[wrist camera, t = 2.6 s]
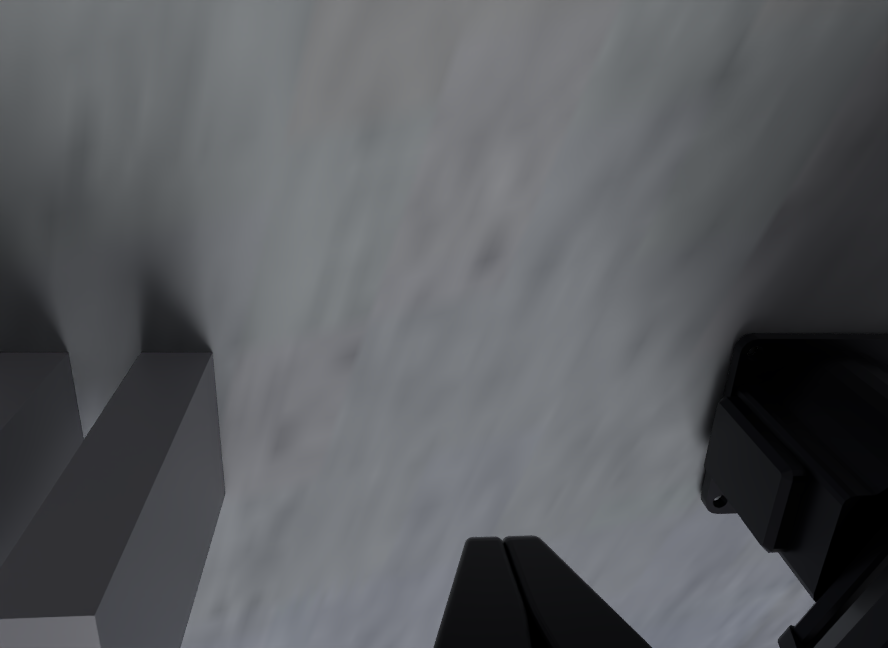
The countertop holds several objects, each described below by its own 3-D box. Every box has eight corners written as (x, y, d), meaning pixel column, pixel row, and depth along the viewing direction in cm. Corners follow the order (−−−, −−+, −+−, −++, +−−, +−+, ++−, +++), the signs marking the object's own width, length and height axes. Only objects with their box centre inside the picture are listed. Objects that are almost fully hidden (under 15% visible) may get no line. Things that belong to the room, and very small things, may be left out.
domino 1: (212, 352, 21) (94, 615, 12) (225, 494, 23) (132, 812, 14) (140, 352, 21) (-34, 620, 12) (160, 495, 23) (23, 818, 14)
